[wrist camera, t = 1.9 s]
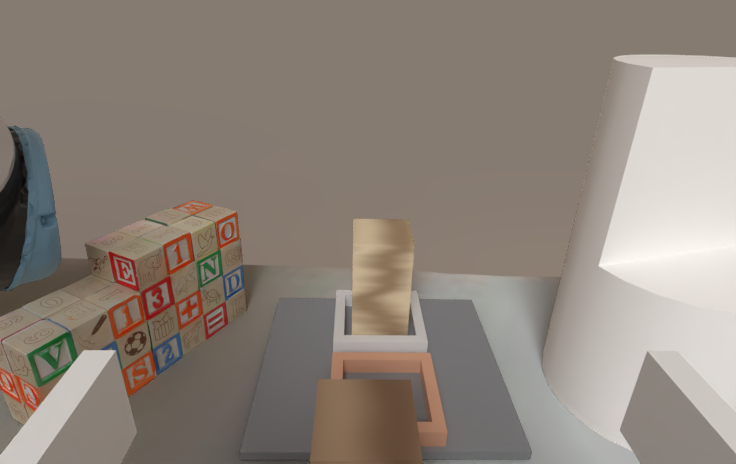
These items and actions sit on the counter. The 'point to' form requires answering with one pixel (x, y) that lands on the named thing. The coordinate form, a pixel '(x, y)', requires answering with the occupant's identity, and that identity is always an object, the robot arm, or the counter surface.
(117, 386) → the robot arm
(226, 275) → the stack of blocks
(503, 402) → the board
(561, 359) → the cylinder
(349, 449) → the walnut pillar
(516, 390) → the counter surface
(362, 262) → the oak pillar
